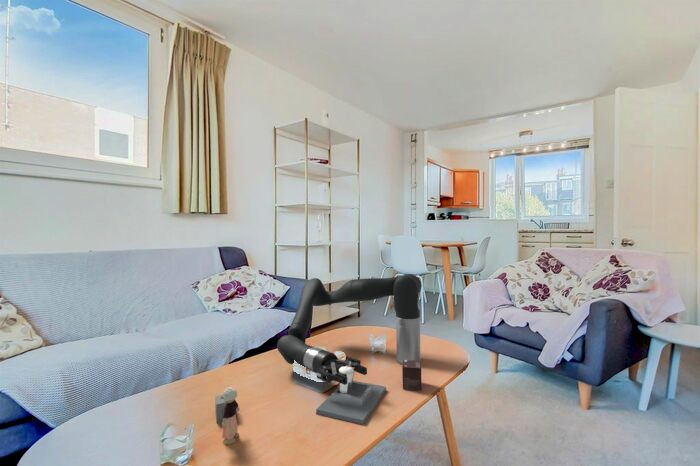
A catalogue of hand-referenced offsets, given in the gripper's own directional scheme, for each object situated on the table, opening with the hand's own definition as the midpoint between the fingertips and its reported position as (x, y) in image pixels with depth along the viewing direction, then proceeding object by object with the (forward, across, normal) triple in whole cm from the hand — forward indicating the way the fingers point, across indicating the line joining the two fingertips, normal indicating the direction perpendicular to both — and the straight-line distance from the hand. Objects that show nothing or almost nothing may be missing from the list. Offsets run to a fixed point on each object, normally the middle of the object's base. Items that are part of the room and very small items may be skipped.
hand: (356, 376), depth 98 cm
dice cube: (-23, -29, +8) cm, 38 cm away
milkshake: (-3, -2, +7) cm, 8 cm away
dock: (-2, 0, +8) cm, 8 cm away
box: (+6, +20, +8) cm, 22 cm away
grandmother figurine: (-12, -34, +8) cm, 36 cm away
